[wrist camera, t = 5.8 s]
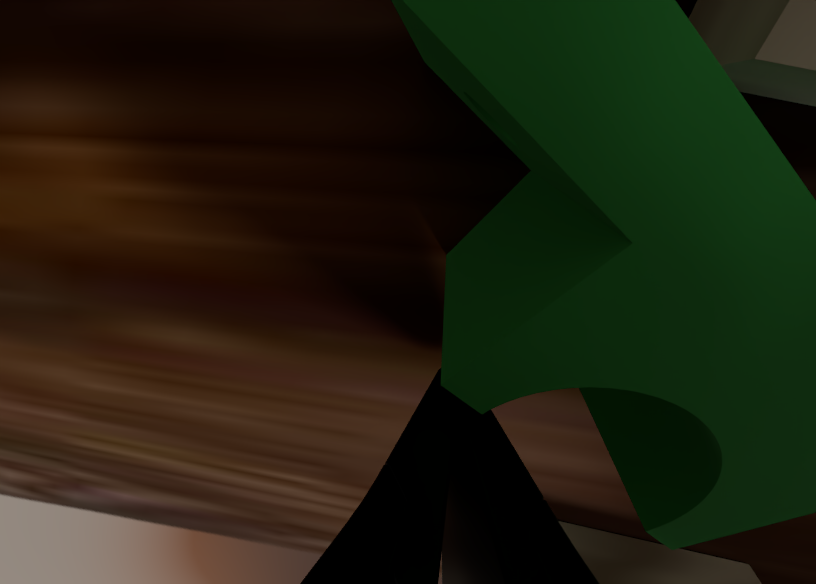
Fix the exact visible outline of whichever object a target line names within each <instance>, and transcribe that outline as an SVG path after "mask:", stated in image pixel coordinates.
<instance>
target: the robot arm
mask: <svg viewBox="0 0 816 584" xmlns="http://www.w3.org/2000/svg"><path fill="white" fill-rule="evenodd" d="M441 552H442V584H600V583H599V582H598V581H597V579H596V578H595V576H594V575H593V573H592V572H591V570H590V569H589V567H588V566H587V564H586V563H585V562H584V560H583V559H582V557H581V556H580V554H579V553H578V551H577V550H576V548H575V547H574V545H573V544H572V542H571V540H570V539H569V537H568V536H567V534H566V533H565V531H564V529H563V528H562V526H561V525H560V523H559V521H558V520H557V518H556V517H555V515H554V513H553V512H552V510H551V508H550V507H549V505H548V503H547V502H546V501H545V500H543V495H542V494H541V492H540V490H539V489H538V487H537V485H536V484H535V482H534V480H533V479H532V477H531V475H530V474H529V472H528V470H527V469H526V467H525V465H524V464H523V462H522V460H521V459H520V457H519V455H518V454H517V452H516V450H515V449H514V447H513V445H512V444H511V442H510V440H509V439H508V437H507V435H506V434H505V432H504V430H503V429H502V427H501V425H500V424H499V422H498V420H497V419H496V417H495V416H494V414H493V412H492V411H491V410H489V411H487V412H485V413H484V414H480V413H479V412H478V411H476V410H475V409H473V408H472V407H471V406H469V405H468V404H466V403H465V402H464V401H462V400H461V399H459V398H458V397H457V396H455V395H454V394H452V393H451V392H450V391H448V390H447V389H445V388H444V387H443V386H441V368H440V369H439V370H438V372H437V374H436V375H435V377H434V379H433V381H432V382H431V384H430V386H429V388H428V389H427V391H426V393H425V395H424V396H423V398H422V400H421V401H420V403H419V405H418V407H417V408H416V410H415V412H414V414H413V415H412V417H411V419H410V421H409V422H408V424H407V426H406V428H405V429H404V431H403V433H402V435H401V436H400V438H399V440H398V442H397V443H396V445H395V447H394V449H393V450H392V452H391V454H390V456H389V457H388V459H387V461H386V463H385V465H384V466H383V467H382V469H381V471H380V473H379V474H378V476H377V478H376V480H375V481H374V483H373V484H372V486H371V488H370V489H369V491H368V493H367V494H366V496H365V497H364V499H363V501H362V502H361V503H360V505H359V506H358V508H357V509H356V510H355V512H354V513H353V515H352V516H351V517H350V519H349V520H348V522H347V523H346V524H345V526H344V527H343V528H342V530H341V531H340V532H339V534H338V535H337V536H336V538H335V539H334V540H333V541H332V543H331V544H330V545H329V547H328V548H327V549H326V551H325V552H324V553H323V555H322V556H321V557H320V559H319V560H318V561H317V563H316V564H315V565H314V566H313V568H312V569H311V570H310V572H309V573H308V574H307V576H306V577H305V578H304V580H303V581H302V582H301V584H438V579H439V570H440V561H441Z"/></svg>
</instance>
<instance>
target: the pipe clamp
mask: <svg viewBox="0 0 816 584" xmlns="http://www.w3.org/2000/svg"><path fill="white" fill-rule="evenodd" d="M391 1H392V3H393V4H394V6H395V8H396V10H397V12H398V14H399V16H400V17H401V19H402V21H403V23H404V25H405V27H406V29H407V30H408V32H409V34H410V36H411V38H412V40H413V42H414V43H415V45H416V47H417V49H418V51H419V53H420V55H421V57H422V58H423V60H424V62H425V63H426V64H427V65H428V66H429V67H430V68H431V69H432V70H433V71H434V72H435V73H436V74H437V75H438V76H439V77H440V78H441V79H442V80H443V81H444V82H445V83H446V84H447V85H448V87H449V88H450V89H451V90H452V91H453V92H454V93H455V94H456V95H457V96H458V97H459V98H460V99H461V100H462V101H463V102H464V103H465V104H466V105H467V106H468V107H469V108H470V109H471V110H472V111H473V112H474V113H475V114H476V115H477V116H478V117H479V118H480V119H481V120H482V121H483V122H484V123H485V124H486V125H487V126H488V127H489V128H490V129H491V130H492V131H493V132H494V133H495V134H496V135H497V136H498V137H499V138H500V139H501V140H502V141H503V142H504V143H505V145H506V146H507V147H508V148H509V149H510V150H511V151H512V152H513V153H514V154H515V155H516V156H517V157H518V158H519V159H520V160H521V161H522V162H523V163H524V164H525V165H526V166H527V167H528V168H529V169H530V170H531V171H530V172H529V173H528V174H527V175H526V176H525V177H524V178H523V179H522V180H521V181H520V182H519V183H518V184H517V185H516V186H515V187H514V188H513V189H512V190H511V191H510V192H509V193H508V194H507V195H506V196H505V197H504V198H503V199H502V200H501V201H500V202H499V203H498V204H497V205H496V206H495V207H494V208H493V209H492V210H491V211H490V212H489V213H488V214H487V215H486V216H485V217H484V218H483V219H482V220H481V221H480V222H479V223H478V224H477V225H476V226H475V227H474V228H473V229H472V230H471V231H470V232H469V233H468V234H467V235H466V236H465V237H464V238H463V239H462V240H461V241H460V242H459V243H458V244H457V245H456V246H455V247H454V248H453V249H452V250H451V251H450V252H449V253H448V254H447V255H446V276H445V298H444V321H443V344H442V367H441V386H443V387H444V388H445V389H447V390H448V391H450V392H451V393H452V394H454V395H455V396H457V397H458V398H459V399H461V400H462V401H464V402H465V403H466V404H468V405H469V406H471V407H472V408H473V409H475V410H476V411H478V412H479V413H480V414H484V413H485V412H487V411H489V410H491V409H493V408H495V407H497V406H499V405H501V404H504V403H506V402H508V401H511V400H514V399H517V398H520V397H523V396H527V395H531V394H535V393H539V392H545V391H550V390H557V389H566V388H579V389H580V391H581V393H582V395H583V397H584V400H585V402H586V404H587V406H588V408H589V410H590V413H591V415H592V417H593V419H594V421H595V423H596V426H597V428H598V430H599V432H600V434H601V436H602V438H603V441H604V443H605V445H606V447H607V449H608V451H609V454H610V456H611V458H612V460H613V462H614V464H615V467H616V469H617V471H618V473H619V475H620V477H621V480H622V482H623V484H624V486H625V488H626V490H627V493H628V495H629V497H630V499H631V501H632V503H633V506H634V508H635V510H636V512H637V514H638V516H639V518H640V521H641V523H642V525H643V527H644V529H645V531H646V532H647V533H648V534H650V535H651V536H653V537H654V538H655V539H657V540H658V541H660V542H661V543H662V544H664V545H665V546H667V547H668V548H669V549H671V550H675V549H678V548H682V547H686V546H690V545H694V544H697V543H701V542H705V541H709V540H713V539H717V538H720V537H724V536H728V535H732V534H736V533H739V532H743V531H747V530H751V529H755V528H759V527H762V526H766V525H770V524H774V523H778V522H782V521H785V520H789V519H793V518H797V517H801V516H804V515H808V514H812V513H816V200H815V199H814V197H813V196H812V195H811V193H810V192H809V190H808V189H807V187H806V186H805V185H804V183H803V182H802V180H801V179H800V177H799V176H798V175H797V173H796V172H795V170H794V169H793V167H792V166H791V165H790V163H789V162H788V160H787V159H786V157H785V156H784V155H783V153H782V152H781V150H780V149H779V147H778V146H777V145H776V143H775V142H774V140H773V139H772V138H771V136H770V135H769V133H768V132H767V130H766V129H765V128H764V126H763V125H762V123H761V122H760V120H759V119H758V118H757V116H756V115H755V113H754V112H753V110H752V109H751V108H750V106H749V105H748V103H747V102H746V100H745V99H744V98H743V96H742V95H741V93H740V92H739V90H738V89H737V88H736V86H735V85H734V83H733V82H732V80H731V79H730V78H729V76H728V75H727V73H726V72H725V70H724V69H723V68H722V66H721V65H720V63H719V62H718V60H717V59H716V58H715V56H714V55H713V53H712V52H711V50H710V49H709V48H708V46H707V45H706V43H705V42H704V40H703V39H702V38H701V36H700V35H699V33H698V32H697V30H696V29H695V28H694V26H693V25H692V23H691V22H690V21H689V19H688V18H687V16H686V15H685V13H684V12H683V11H682V9H681V8H680V6H679V5H678V3H677V2H676V1H675V0H391Z"/></svg>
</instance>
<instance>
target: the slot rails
mask: <svg viewBox="0 0 816 584" xmlns="http://www.w3.org/2000/svg"><path fill="white" fill-rule="evenodd" d="M689 21H690V22H691V23H692V25H693V26H694V28H695V29H696V30H697V32H698V33H699V35H700V36H701V38H702V39H703V40H704V42H705V43H706V45H707V46H708V48H709V49H710V50H711V52H712V53H713V55H714V56H715V58H716V59H717V60H718V62H719V63H720V65H721V66H722V68H723V69H724V70H725V72H726V73H727V75H728V76H729V78H730V79H731V80H732V82H733V83H734V85H735V86H736V88H737V89H738V90H739V92H744V93H750V94H755V95H760V96H765V97H770V98H775V99H780V100H785V101H790V102H795V103H800V104H805V105H810V106H816V0H697V2H696V4H695V6H694V9H693V11H692V13H691V15H690V17H689ZM559 523H560V525H561V526H562V528H563V529H564V531H565V533H566V534H567V536H568V537H569V539H570V540H571V542H572V544H573V545H574V547H575V548H576V550H577V551H578V553H579V554H580V556H581V557H582V559H583V560H584V562H585V563H586V564H587V566H588V567H589V569H590V570H591V572H592V573H593V575H594V576H595V578H596V579H597V581H598V582H599V583H600V584H762V583H761V582H760V580H759V579H758V577H757V576H756V574H755V573H754V571H753V570H752V568H751V567H750V565H749V564H745V563H741V562H736V561H732V560H728V559H723V558H719V557H714V556H710V555H706V554H701V553H697V552H692V551H688V550H684V549H679V548H678V549H675V550H671V549H669V548H668V547H667V546H665V545H662V544H657V543H653V542H649V541H644V540H640V539H635V538H631V537H627V536H622V535H618V534H613V533H609V532H605V531H600V530H596V529H592V528H587V527H583V526H578V525H574V524H570V523H565V522H561V521H559Z"/></svg>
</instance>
